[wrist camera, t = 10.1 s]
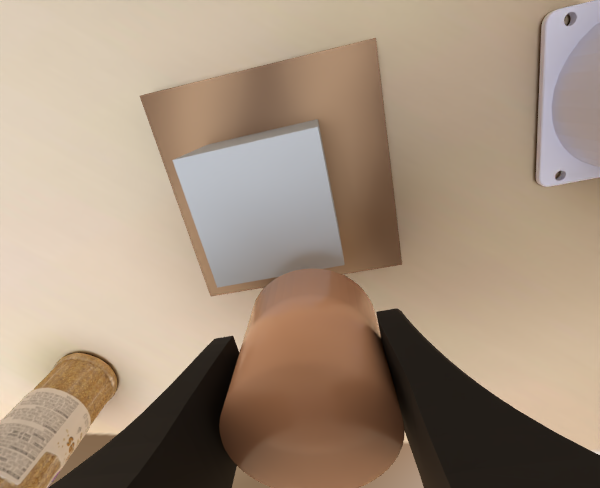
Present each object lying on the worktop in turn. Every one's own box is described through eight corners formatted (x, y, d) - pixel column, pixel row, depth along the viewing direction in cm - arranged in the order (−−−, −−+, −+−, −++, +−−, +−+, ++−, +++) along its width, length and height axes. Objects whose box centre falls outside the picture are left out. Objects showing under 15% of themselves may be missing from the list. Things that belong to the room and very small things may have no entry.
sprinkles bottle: (109, 407, 27) (-72, 677, 14) (50, 382, 26) (-195, 643, 14) (129, 366, 25) (-56, 632, 13) (66, 338, 24) (-194, 591, 12)
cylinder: (370, 260, 12) (399, 353, 7) (379, 366, 13) (408, 490, 9) (239, 276, 12) (198, 372, 8) (264, 377, 14) (241, 499, 10)
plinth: (370, 43, 17) (375, 38, 15) (396, 252, 21) (401, 264, 19) (154, 95, 18) (139, 95, 17) (217, 282, 22) (210, 296, 21)
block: (317, 119, 17) (317, 126, 12) (338, 227, 19) (344, 264, 14) (207, 144, 17) (172, 160, 13) (238, 246, 19) (217, 287, 15)
